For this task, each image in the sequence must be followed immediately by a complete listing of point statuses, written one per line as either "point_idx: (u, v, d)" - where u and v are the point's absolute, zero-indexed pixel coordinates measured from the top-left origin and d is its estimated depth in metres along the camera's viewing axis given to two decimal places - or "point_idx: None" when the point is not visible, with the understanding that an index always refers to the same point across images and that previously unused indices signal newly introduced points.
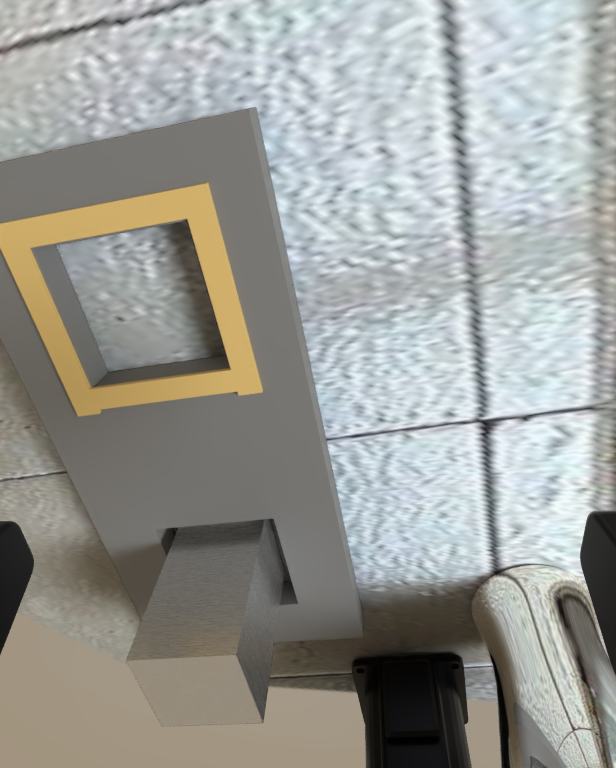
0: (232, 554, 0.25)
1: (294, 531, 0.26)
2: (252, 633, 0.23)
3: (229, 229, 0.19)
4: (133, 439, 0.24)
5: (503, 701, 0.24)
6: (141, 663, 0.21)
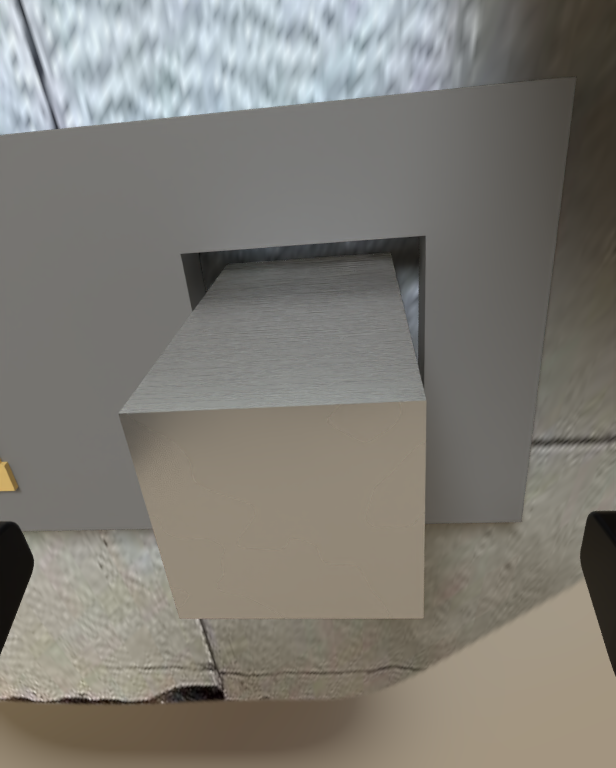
0: None
1: (211, 217, 0.13)
2: (231, 355, 0.10)
3: None
4: (46, 436, 0.16)
5: None
6: (185, 596, 0.10)
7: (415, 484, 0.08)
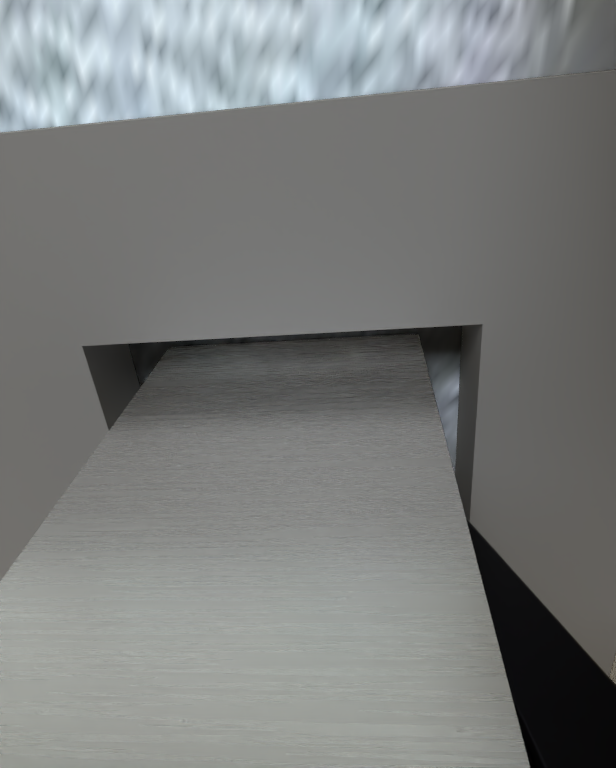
0: None
1: (128, 291, 0.08)
2: (100, 652, 0.04)
3: None
4: None
5: None
6: None
7: None
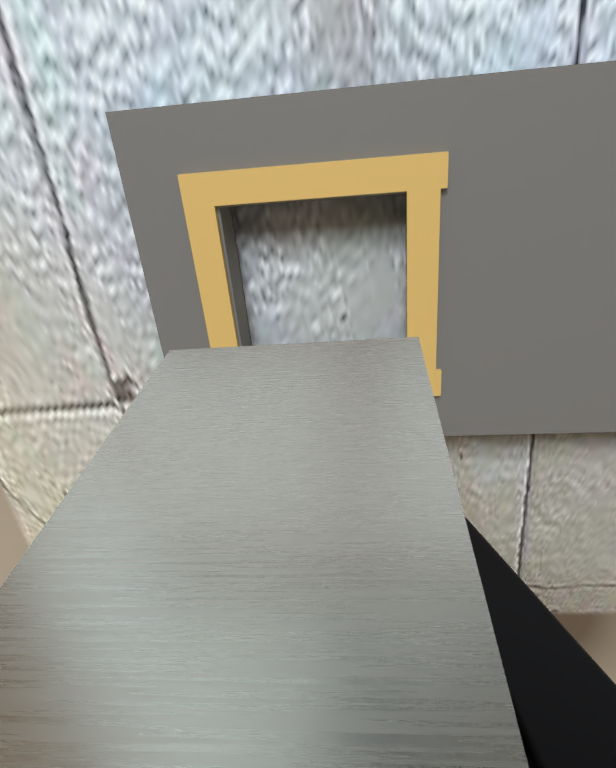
0: None
1: None
2: (101, 659, 0.04)
3: (229, 158, 0.17)
4: (489, 343, 0.19)
5: None
6: None
7: None
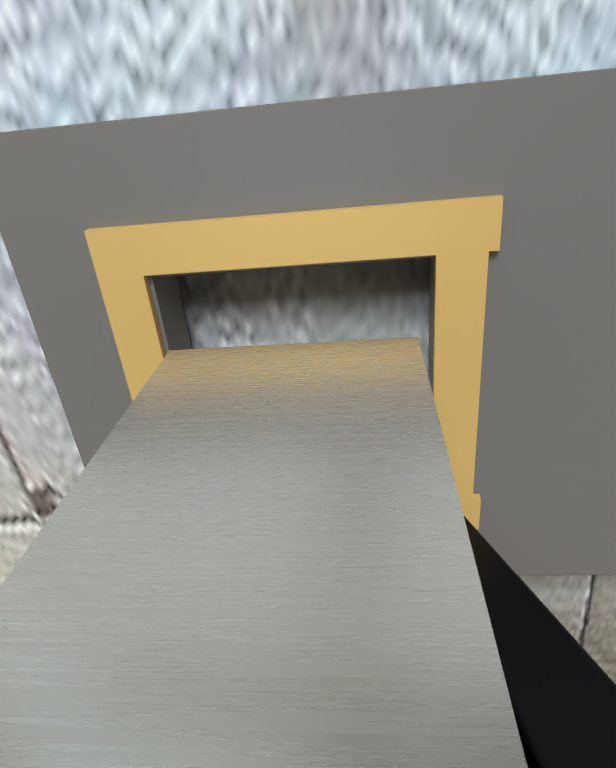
0: None
1: None
2: (98, 660, 0.04)
3: (162, 206, 0.11)
4: (550, 462, 0.13)
5: None
6: None
7: None
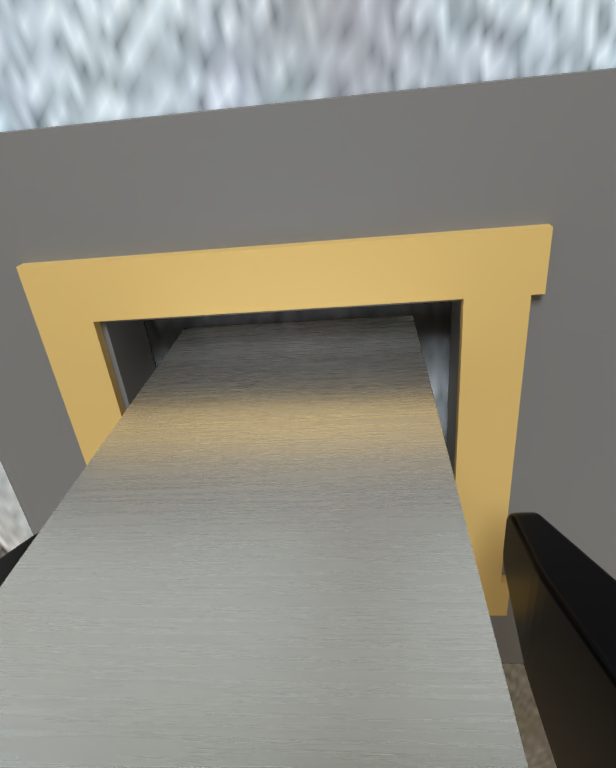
0: None
1: None
2: (144, 561, 0.05)
3: (115, 236, 0.08)
4: (596, 542, 0.11)
5: None
6: None
7: None
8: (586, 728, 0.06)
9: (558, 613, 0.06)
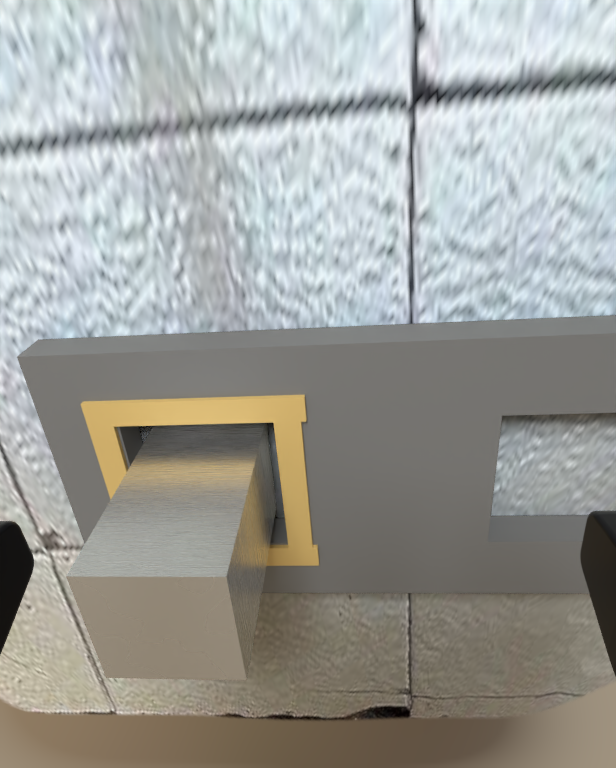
0: None
1: (532, 394, 0.18)
2: (136, 527, 0.16)
3: (124, 392, 0.20)
4: (355, 528, 0.22)
5: None
6: (109, 665, 0.17)
7: (228, 614, 0.15)
8: None
9: None
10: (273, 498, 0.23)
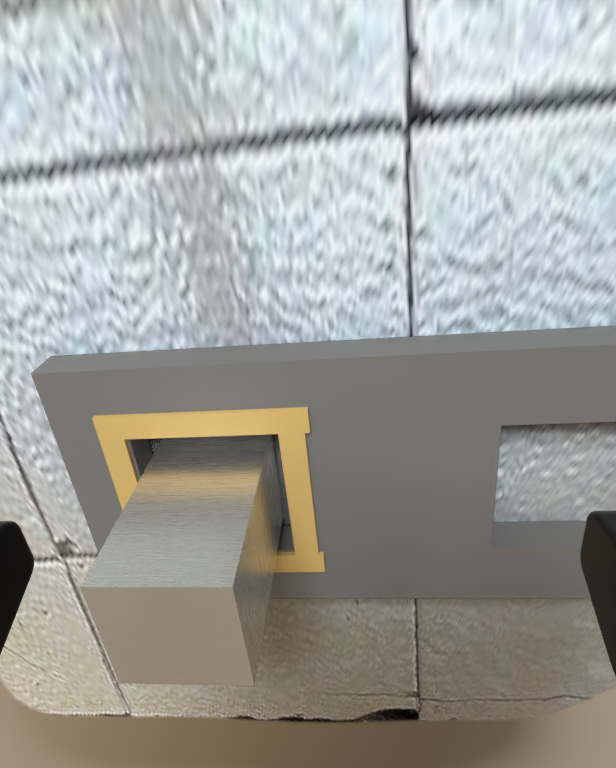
0: None
1: (531, 405, 0.19)
2: (146, 539, 0.17)
3: (133, 406, 0.20)
4: (360, 535, 0.22)
5: None
6: (122, 671, 0.17)
7: (235, 622, 0.16)
8: None
9: None
10: (280, 506, 0.23)
